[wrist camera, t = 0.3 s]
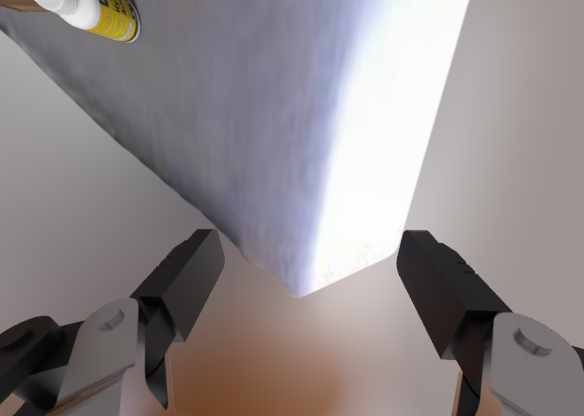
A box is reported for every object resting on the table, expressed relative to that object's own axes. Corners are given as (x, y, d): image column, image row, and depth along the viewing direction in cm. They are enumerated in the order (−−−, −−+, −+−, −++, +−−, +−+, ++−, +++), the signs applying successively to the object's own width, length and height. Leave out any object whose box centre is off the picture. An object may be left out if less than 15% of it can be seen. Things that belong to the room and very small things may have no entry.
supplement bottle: (149, 22, 29) (79, -10, 20) (129, 52, 30) (57, 34, 22) (115, -20, 27) (22, -76, 18) (96, 15, 29) (3, -22, 20)
